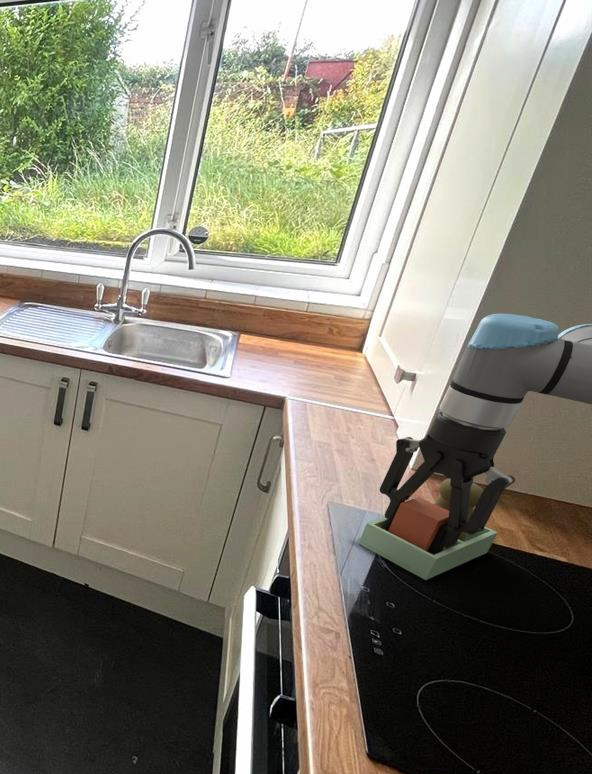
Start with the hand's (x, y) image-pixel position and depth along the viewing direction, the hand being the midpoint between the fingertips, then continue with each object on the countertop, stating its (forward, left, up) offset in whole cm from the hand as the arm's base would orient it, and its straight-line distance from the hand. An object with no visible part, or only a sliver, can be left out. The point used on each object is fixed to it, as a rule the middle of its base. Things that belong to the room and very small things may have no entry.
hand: (409, 548), depth 94 cm
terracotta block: (0, 0, 0) cm, 0 cm away
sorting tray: (0, -4, -1) cm, 5 cm away
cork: (0, -9, -1) cm, 9 cm away
